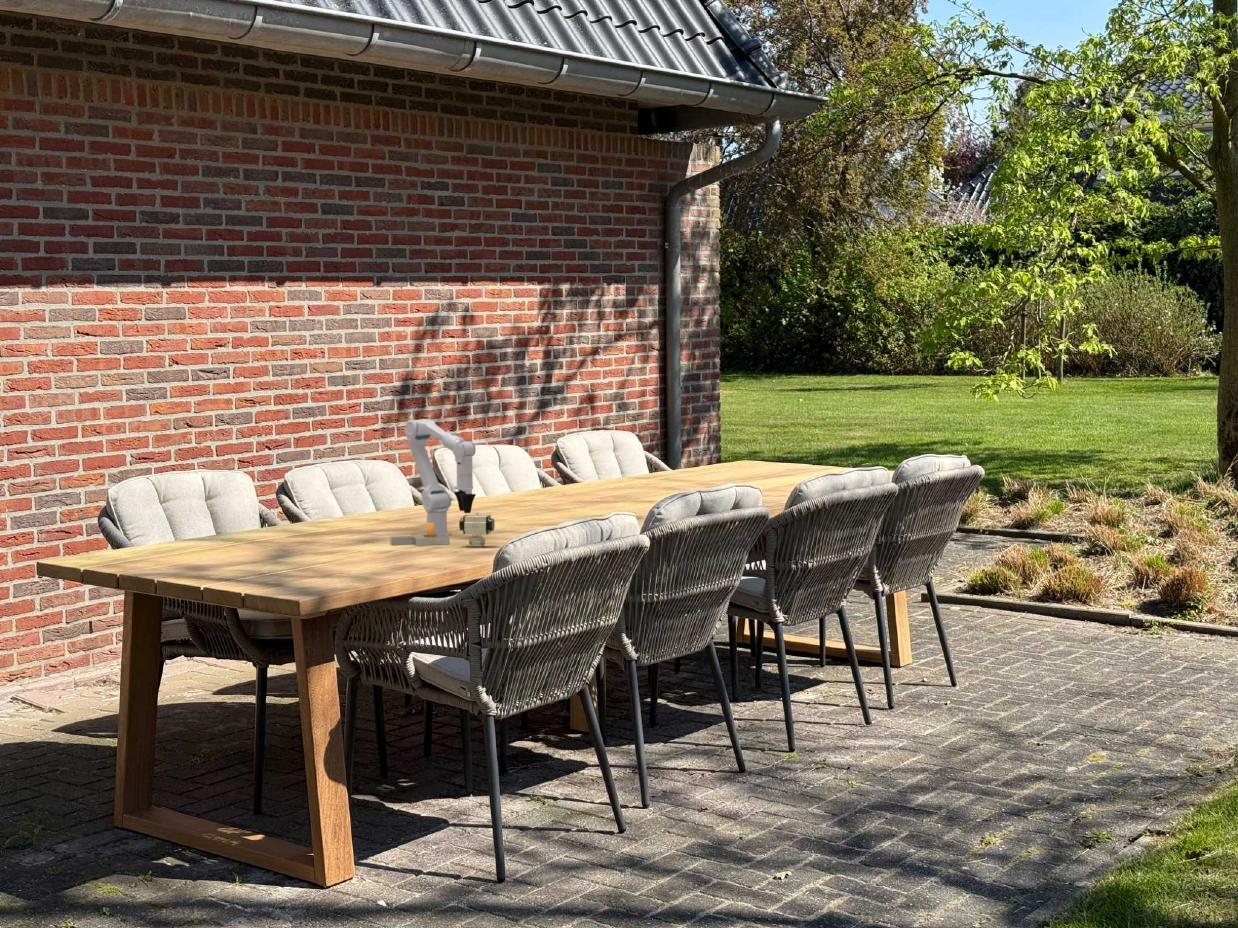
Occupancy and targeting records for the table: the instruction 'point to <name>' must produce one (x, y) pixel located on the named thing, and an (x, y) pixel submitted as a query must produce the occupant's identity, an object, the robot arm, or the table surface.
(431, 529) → the orange cylinder
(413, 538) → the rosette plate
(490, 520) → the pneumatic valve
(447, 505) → the robot arm
